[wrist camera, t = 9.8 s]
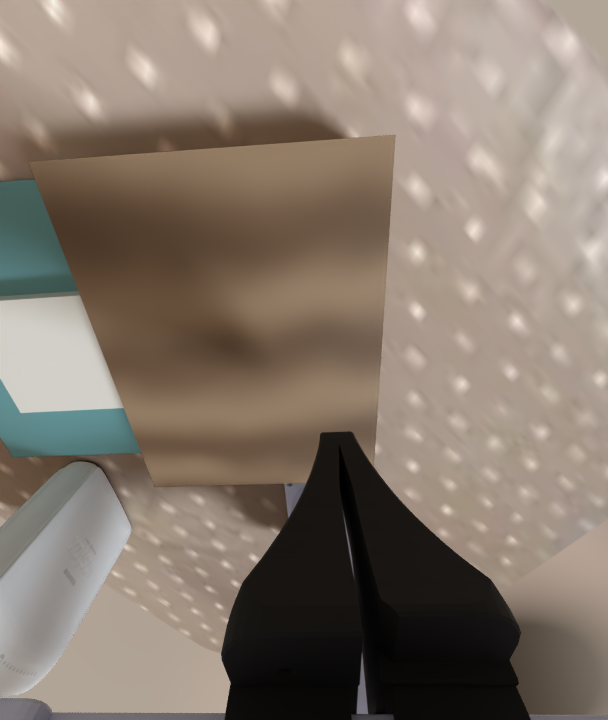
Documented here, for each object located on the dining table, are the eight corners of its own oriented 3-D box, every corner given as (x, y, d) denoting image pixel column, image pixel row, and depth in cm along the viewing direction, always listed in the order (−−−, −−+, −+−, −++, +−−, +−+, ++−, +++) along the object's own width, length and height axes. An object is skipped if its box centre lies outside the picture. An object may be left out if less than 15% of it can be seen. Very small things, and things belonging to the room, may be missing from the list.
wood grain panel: (363, 442, 24) (372, 481, 20) (177, 448, 24) (154, 486, 21) (375, 156, 15) (395, 134, 12) (91, 176, 16) (27, 161, 12)
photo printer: (139, 532, 29) (35, 719, 18) (99, 533, 30) (-28, 719, 18) (104, 457, 25) (-60, 643, 14) (58, 459, 25) (-142, 643, 14)
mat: (171, 448, 24) (169, 452, 24) (17, 453, 25) (12, 457, 25) (82, 177, 16) (77, 176, 16) (-148, 193, 17) (-158, 192, 16)
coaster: (141, 394, 22) (128, 407, 20) (42, 399, 22) (20, 412, 20) (103, 289, 18) (83, 295, 17) (-14, 297, 19) (-45, 303, 17)
